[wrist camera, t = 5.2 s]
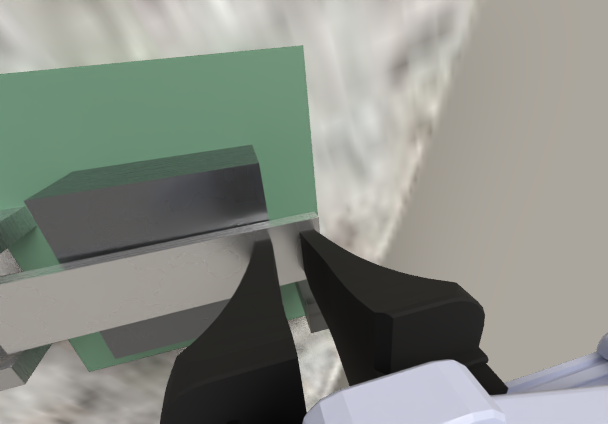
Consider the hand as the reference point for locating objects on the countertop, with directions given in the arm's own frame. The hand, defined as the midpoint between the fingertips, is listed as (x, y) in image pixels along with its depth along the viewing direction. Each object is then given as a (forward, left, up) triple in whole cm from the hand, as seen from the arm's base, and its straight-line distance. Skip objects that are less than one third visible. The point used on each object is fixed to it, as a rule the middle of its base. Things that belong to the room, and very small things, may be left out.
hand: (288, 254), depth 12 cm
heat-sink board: (-5, 0, -5) cm, 7 cm away
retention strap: (-5, 0, -1) cm, 5 cm away
